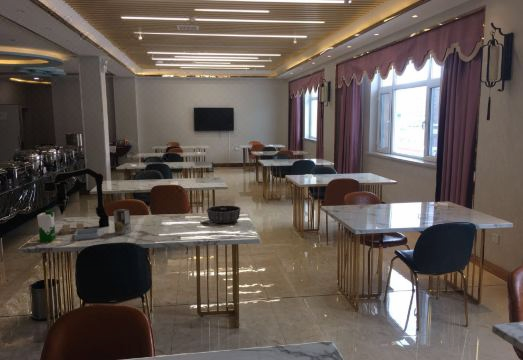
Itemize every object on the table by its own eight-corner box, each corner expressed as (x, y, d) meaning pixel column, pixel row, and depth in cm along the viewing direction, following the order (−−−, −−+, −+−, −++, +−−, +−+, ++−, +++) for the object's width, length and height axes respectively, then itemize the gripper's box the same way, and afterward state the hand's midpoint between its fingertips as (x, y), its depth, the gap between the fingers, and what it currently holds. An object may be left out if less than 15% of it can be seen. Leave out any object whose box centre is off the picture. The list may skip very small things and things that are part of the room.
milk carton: (52, 242, 282) (49, 212, 279) (37, 242, 281) (35, 212, 278) (57, 238, 291) (55, 209, 288) (43, 239, 290) (40, 209, 287)
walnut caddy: (88, 228, 317) (88, 226, 317) (87, 233, 303) (87, 231, 303) (60, 230, 311) (60, 228, 311) (57, 235, 297) (57, 234, 297)
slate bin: (99, 233, 304) (98, 228, 303) (97, 238, 290) (97, 233, 290) (77, 234, 300) (76, 229, 299) (74, 240, 286) (74, 235, 286)
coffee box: (131, 231, 306) (130, 209, 304) (125, 234, 300) (124, 211, 298) (120, 230, 309) (119, 208, 307) (114, 233, 303) (113, 210, 301)
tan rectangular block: (70, 230, 308) (70, 223, 308) (69, 232, 304) (69, 224, 303) (63, 231, 307) (63, 223, 306) (62, 232, 303) (62, 225, 302)
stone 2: (84, 229, 311) (83, 222, 310) (83, 231, 307) (83, 223, 306) (77, 230, 310) (76, 222, 309) (76, 231, 306) (76, 224, 305)
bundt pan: (204, 218, 345) (204, 205, 344) (237, 216, 351) (237, 204, 350) (208, 226, 320) (208, 213, 319) (243, 224, 326) (243, 211, 325)
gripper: (51, 189, 312) (53, 210, 315) (46, 193, 295) (48, 216, 297) (68, 188, 315) (69, 209, 318) (63, 192, 298) (65, 214, 300)
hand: (63, 212), depth 308 cm, fingers open, 9 cm apart
